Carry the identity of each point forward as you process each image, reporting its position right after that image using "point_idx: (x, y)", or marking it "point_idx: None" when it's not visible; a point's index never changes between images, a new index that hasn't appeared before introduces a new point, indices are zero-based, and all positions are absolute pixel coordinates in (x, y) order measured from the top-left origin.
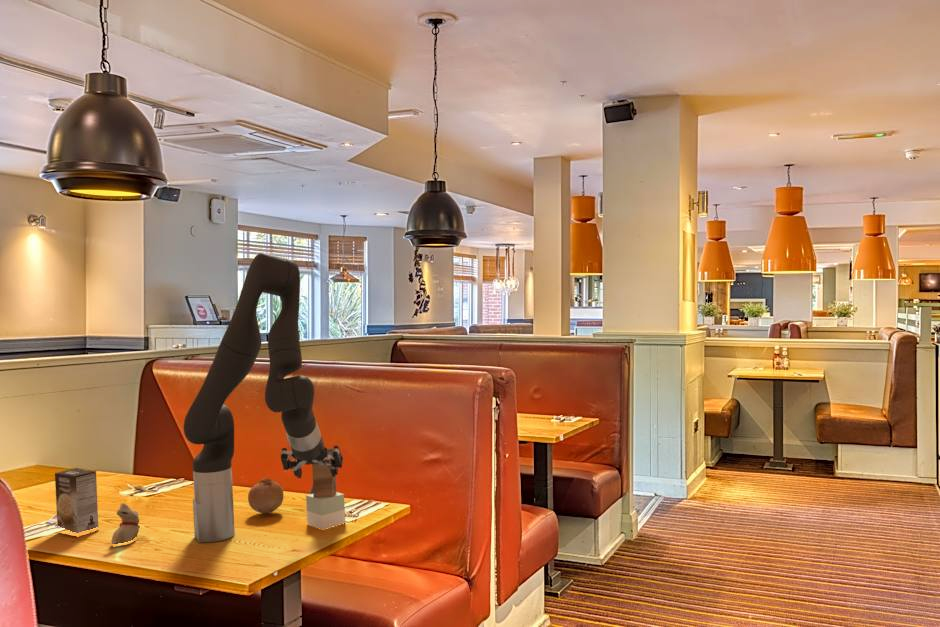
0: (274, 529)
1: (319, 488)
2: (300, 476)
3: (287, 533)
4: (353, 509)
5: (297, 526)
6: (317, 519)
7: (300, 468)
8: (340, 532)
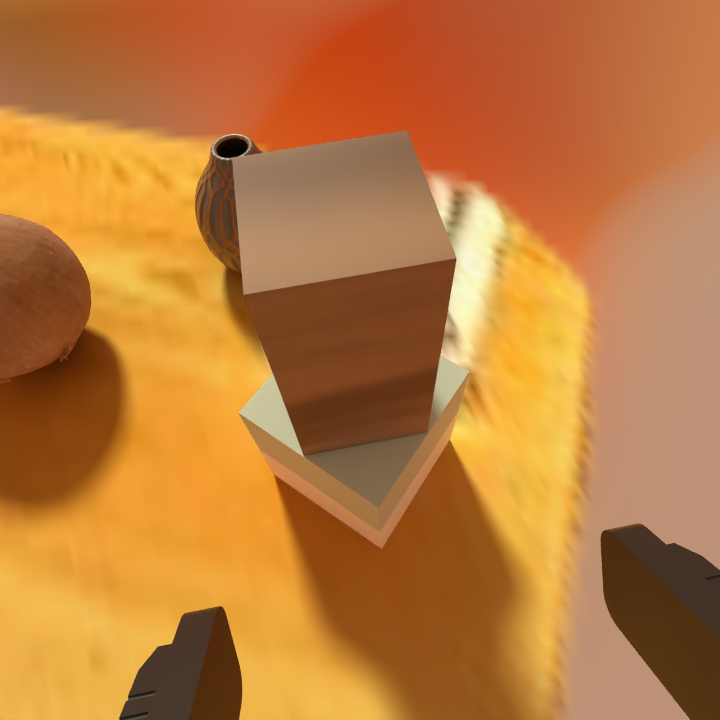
0: (125, 555)
1: (339, 424)
2: (237, 714)
3: None
4: None
5: (231, 497)
6: (342, 512)
7: (206, 691)
8: (490, 578)
